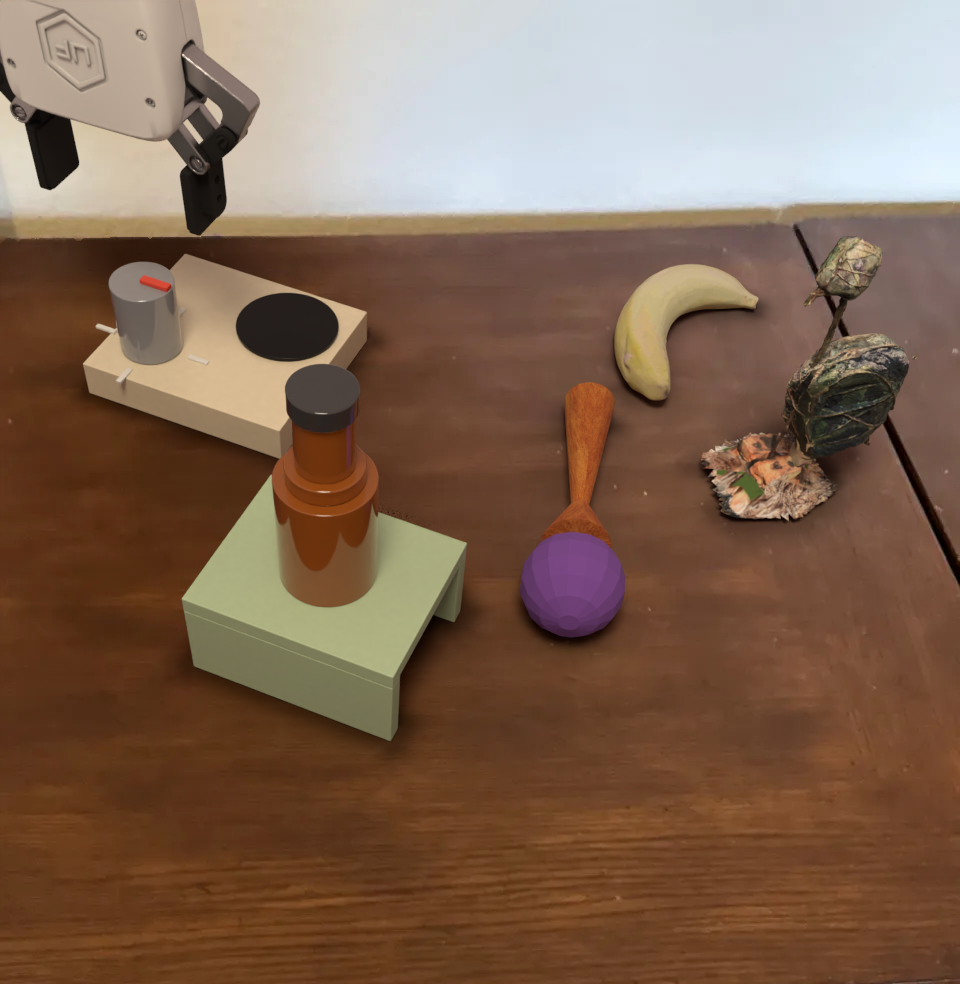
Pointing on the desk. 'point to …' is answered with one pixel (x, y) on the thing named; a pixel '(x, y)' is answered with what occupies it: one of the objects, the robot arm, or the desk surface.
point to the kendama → (577, 534)
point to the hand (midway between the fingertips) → (132, 199)
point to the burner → (287, 327)
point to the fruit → (668, 320)
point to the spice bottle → (325, 492)
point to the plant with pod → (816, 405)
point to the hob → (218, 362)
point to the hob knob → (146, 312)
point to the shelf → (321, 619)
